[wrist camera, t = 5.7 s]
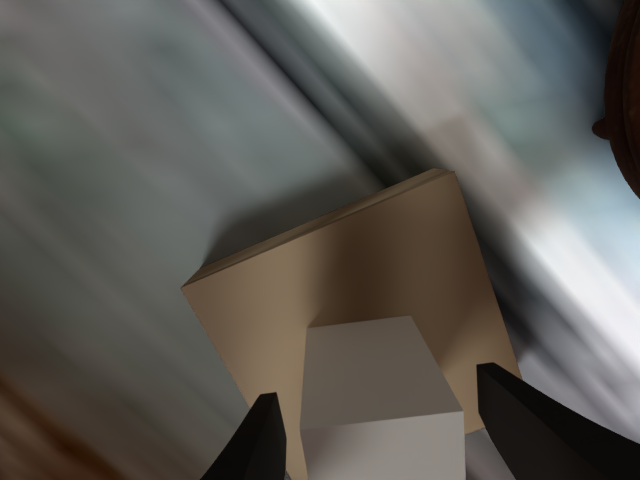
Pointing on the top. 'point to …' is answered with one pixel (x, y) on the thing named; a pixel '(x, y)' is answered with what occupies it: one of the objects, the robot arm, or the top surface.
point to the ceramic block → (378, 405)
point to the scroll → (624, 95)
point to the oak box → (356, 294)
